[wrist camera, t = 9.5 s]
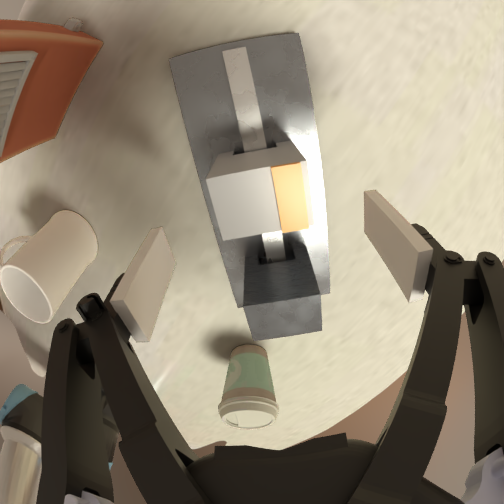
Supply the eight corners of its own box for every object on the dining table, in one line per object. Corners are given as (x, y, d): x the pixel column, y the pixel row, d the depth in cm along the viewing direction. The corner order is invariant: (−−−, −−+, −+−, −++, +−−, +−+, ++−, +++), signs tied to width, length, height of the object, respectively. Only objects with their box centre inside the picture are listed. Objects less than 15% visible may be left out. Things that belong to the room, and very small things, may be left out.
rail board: (328, 287, 36) (344, 340, 28) (238, 301, 37) (235, 357, 29) (296, 35, 20) (318, 10, 12) (172, 60, 21) (136, 48, 13)
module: (298, 188, 27) (315, 227, 20) (230, 200, 28) (222, 243, 21) (291, 140, 25) (308, 162, 18) (218, 153, 25) (204, 180, 18)
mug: (32, 240, 32) (-15, 290, 22) (35, 190, 28) (-24, 236, 18) (93, 274, 35) (55, 336, 25) (104, 226, 31) (54, 288, 21)
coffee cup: (236, 331, 40) (233, 403, 30) (285, 348, 42) (292, 415, 32) (214, 360, 44) (208, 423, 34) (258, 373, 47) (260, 434, 36)
